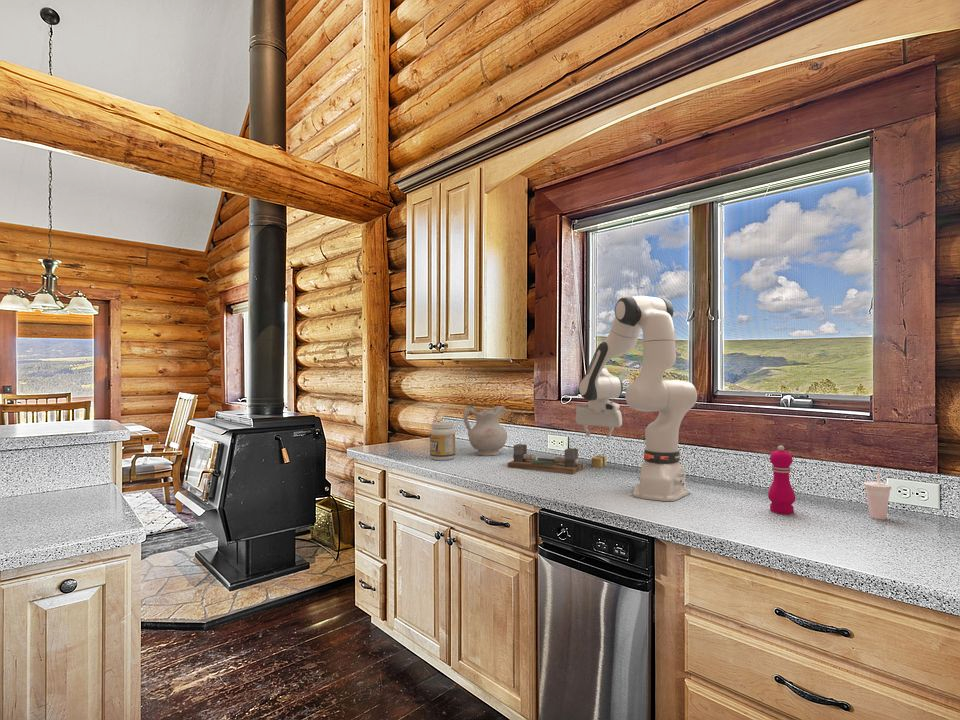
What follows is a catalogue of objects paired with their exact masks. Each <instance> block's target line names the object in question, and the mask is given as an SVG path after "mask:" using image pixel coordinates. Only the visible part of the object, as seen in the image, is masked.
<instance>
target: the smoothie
mask: <svg viewBox="0 0 960 720" xmlns="http://www.w3.org/2000/svg"><path fill="white" fill-rule="evenodd" d="M863 487H864V489H865V493H866V500H867V507H868V512H869V517H870V518H871V519H875V520H883V521H884V520H886V519H887V515H888V514H887V513H888V506H889V499H890V493H891V490H892V485H891V484H888V483H885V482H881V469H880V468H877V481H864V483H863Z"/></svg>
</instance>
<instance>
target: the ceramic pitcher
mask: <svg viewBox="0 0 960 720" xmlns="http://www.w3.org/2000/svg"><path fill="white" fill-rule="evenodd" d="M506 412H507V410H506V407H505V406H503V405H501V406H500V405H495V406H494V407H492V408H491V409H486V408H484V409H482V410H481V411H480V412H478V411H476V410H475V409H474V405H472V404H471V405H470V404H469V405H467V406H465V408H464V410H463V413H462V414H463V415H462V416H463V417H462V418H463V419H462V420H463V423H464V426H465V427H466V429H467V436H468V440H469V443H470V445H471V447H472V448H473V449H475V450H477V452H476V453H475V454H476V455H477V456H482V457H488V456H500V455H502V453H500V452H499V450H501V449H502V448H504V447H505V445H506V443H507V440H508V432H507V430H506V429H505V428H504V427H503V426H501V424H500V421H499V419H500V417H501V415H502V414H503V413H506ZM469 413H471V414H472V415H474V417H475V420H476V421H475V425H474V426H473V427H472V428H471V426H470V425H471V424H470V423H469V422H470V421H468V415H469Z"/></svg>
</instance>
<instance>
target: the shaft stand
mask: <svg viewBox="0 0 960 720" xmlns="http://www.w3.org/2000/svg"><path fill="white" fill-rule="evenodd" d="M527 450H528V445H527V444H525V443H517V444H514V445H513V455H512V457H513V458H512V459H513V460H511V461H508V462H507V467H508V468H513V469H522V470H528V471H529V470H532V471H539V472H547V473H548V472H549V473H558V474H567V475H575V474H576V473H578V472H580V471H582V470H583V469H584V464H583V463H580V459H579V448H573V447H572V448H571V447H569V448H566V449H564V457H562V456H561V457H559V456H555V457H554V458H550V457H549V458H548V457H537V456H536V454H531V453H530V454H529V453H527Z"/></svg>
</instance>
